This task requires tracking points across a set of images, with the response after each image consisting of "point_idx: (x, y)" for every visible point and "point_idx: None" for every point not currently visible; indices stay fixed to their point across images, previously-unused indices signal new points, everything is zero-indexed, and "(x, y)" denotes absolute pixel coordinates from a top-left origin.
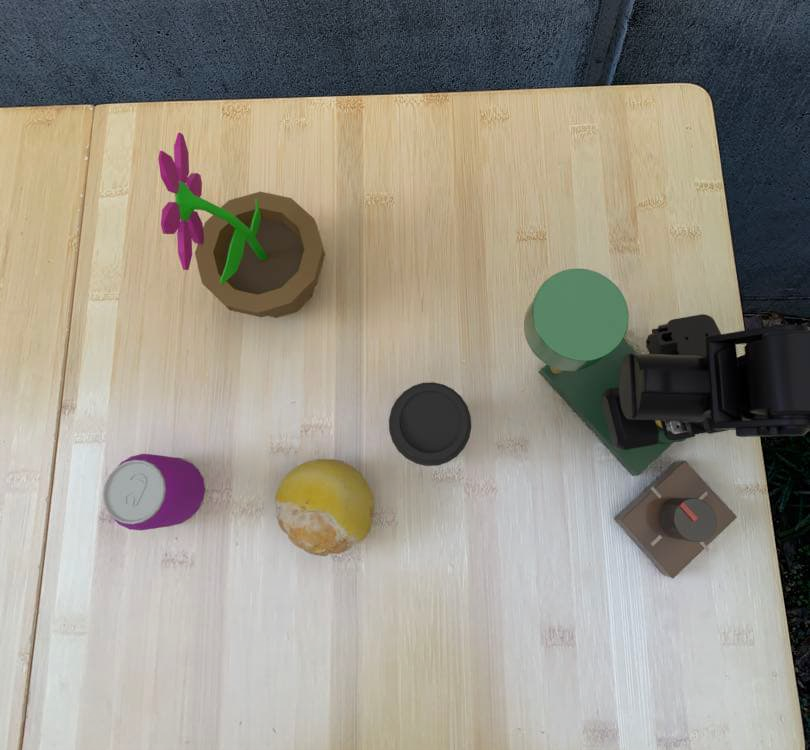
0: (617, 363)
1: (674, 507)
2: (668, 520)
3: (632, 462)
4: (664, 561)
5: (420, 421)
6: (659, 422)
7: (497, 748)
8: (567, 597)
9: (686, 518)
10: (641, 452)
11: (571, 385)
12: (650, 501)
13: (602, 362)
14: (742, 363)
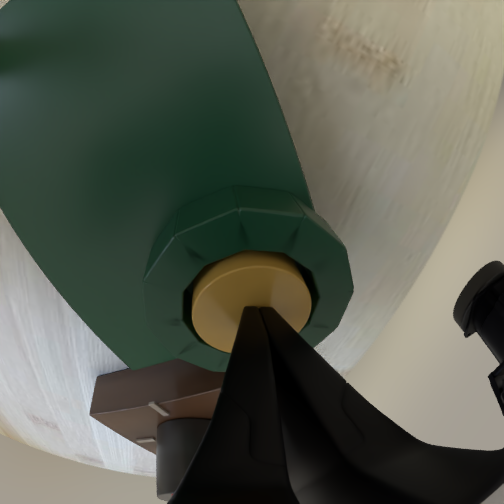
0: (151, 55)
1: (166, 481)
2: (156, 470)
3: (122, 351)
4: (154, 450)
5: None
6: (204, 334)
7: (17, 437)
8: (45, 408)
9: None
10: (149, 340)
11: None
12: (145, 413)
13: (94, 44)
14: None
